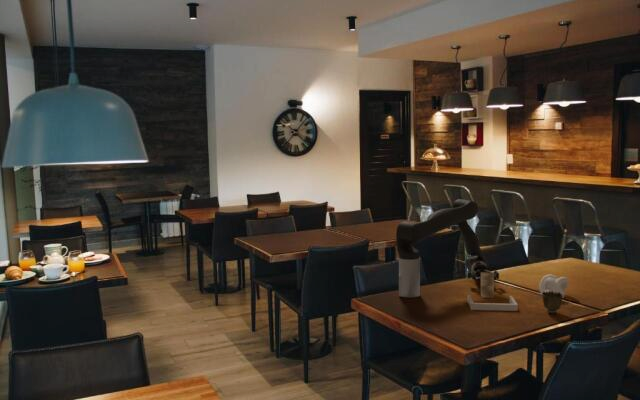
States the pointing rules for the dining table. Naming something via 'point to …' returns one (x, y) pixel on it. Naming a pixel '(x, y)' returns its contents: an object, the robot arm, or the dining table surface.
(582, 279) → the dining table surface
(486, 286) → the maple block
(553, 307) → the cup
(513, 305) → the tray
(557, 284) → the white lumpy cloud shape
